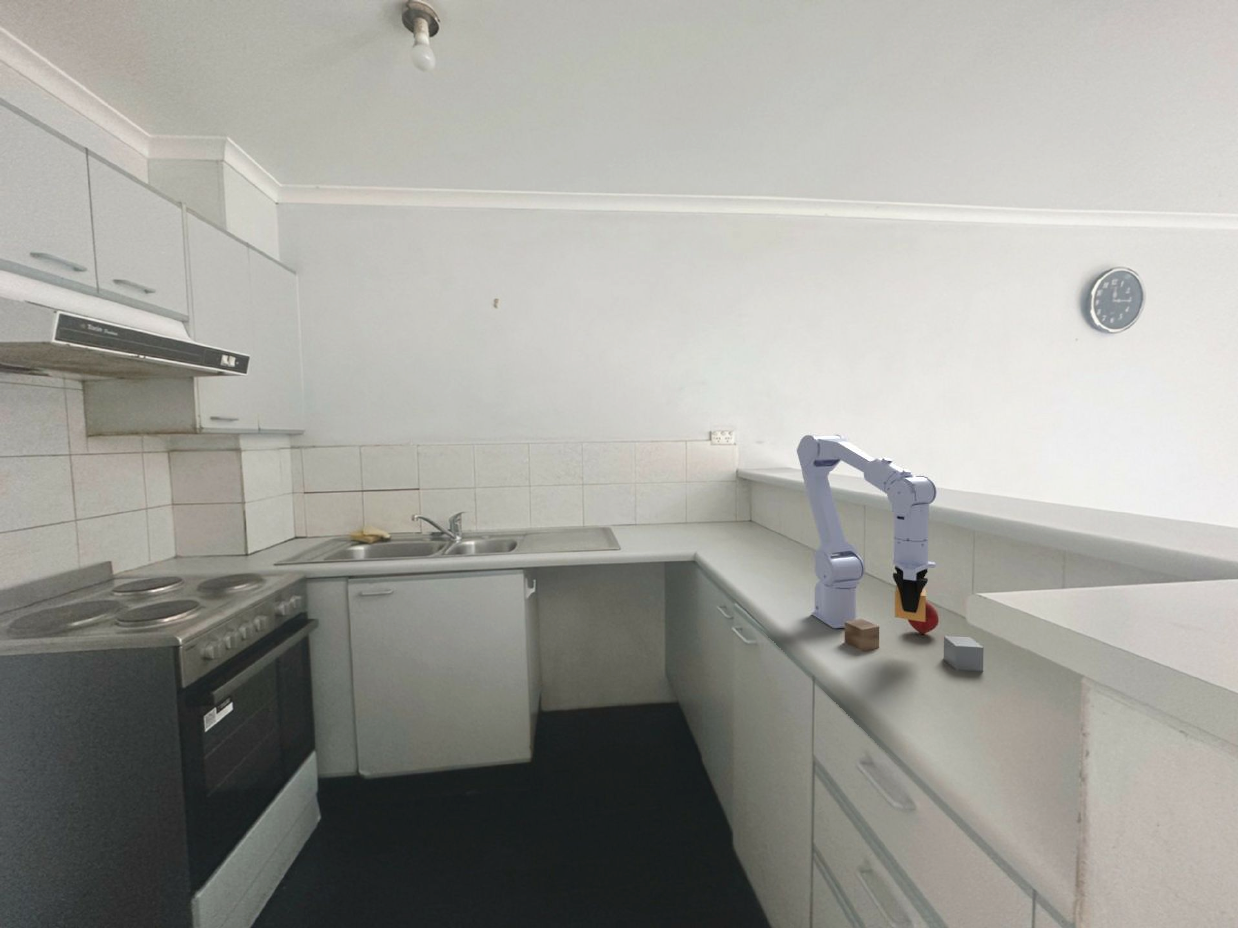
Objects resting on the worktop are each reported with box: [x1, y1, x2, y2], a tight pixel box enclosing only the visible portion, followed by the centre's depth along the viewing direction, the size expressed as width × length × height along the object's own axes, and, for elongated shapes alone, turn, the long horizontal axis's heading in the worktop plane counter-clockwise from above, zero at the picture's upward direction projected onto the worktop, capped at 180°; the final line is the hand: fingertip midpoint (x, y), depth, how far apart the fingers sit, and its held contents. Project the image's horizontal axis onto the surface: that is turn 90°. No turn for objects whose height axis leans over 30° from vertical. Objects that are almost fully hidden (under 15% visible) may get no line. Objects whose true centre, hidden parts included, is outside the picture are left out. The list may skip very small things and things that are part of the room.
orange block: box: [894, 584, 927, 622], centre depth 93 cm, size 5×5×5 cm
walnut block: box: [844, 618, 880, 652], centre depth 98 cm, size 4×4×4 cm
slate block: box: [943, 635, 985, 672], centre depth 89 cm, size 4×4×4 cm
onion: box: [907, 601, 940, 635], centre depth 103 cm, size 6×6×8 cm
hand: (910, 607), depth 93 cm, fingers closed on orange block, 5 cm apart
